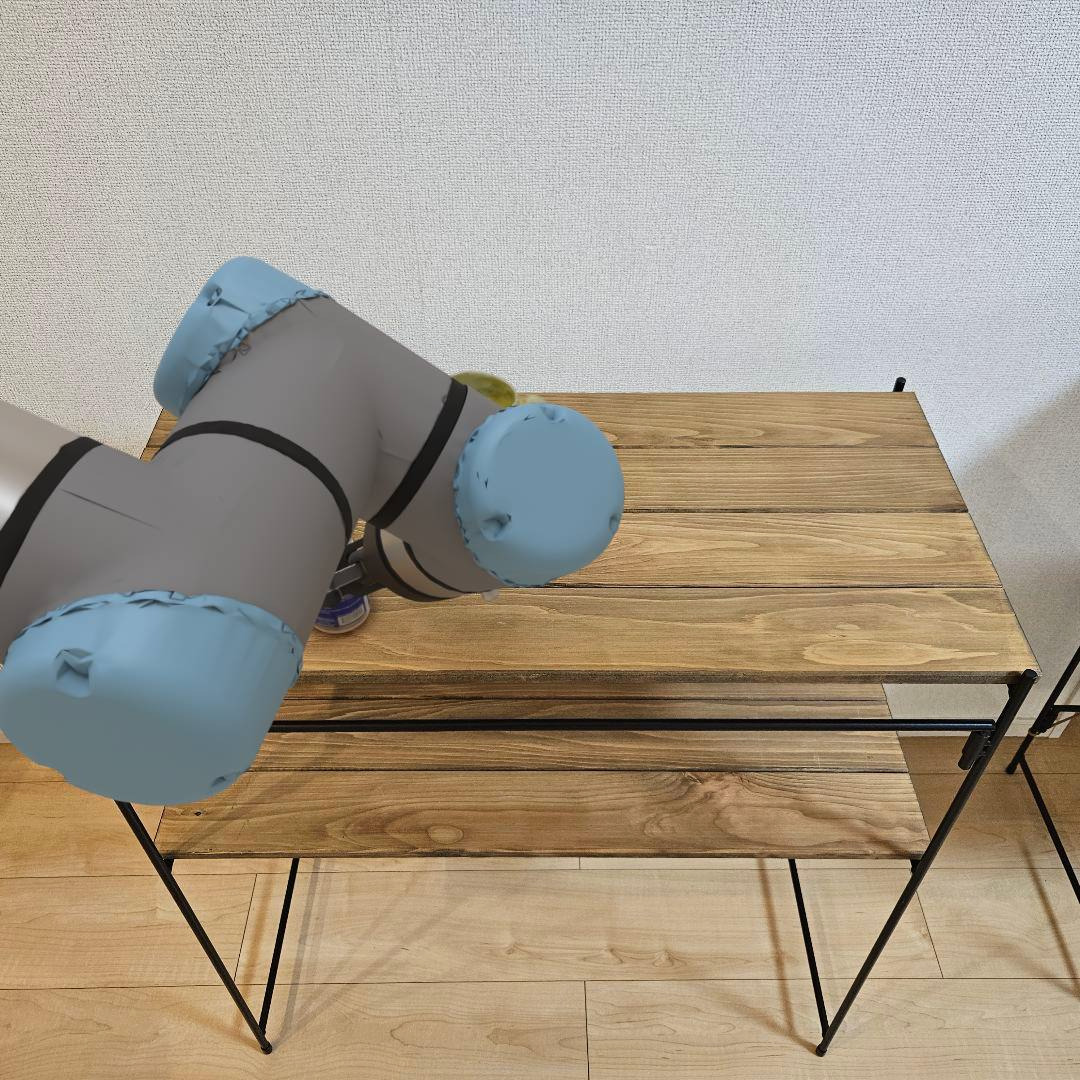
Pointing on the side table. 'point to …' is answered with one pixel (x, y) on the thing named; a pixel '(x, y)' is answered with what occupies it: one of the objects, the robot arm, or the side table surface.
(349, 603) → the pill bottle
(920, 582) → the side table surface
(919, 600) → the side table surface
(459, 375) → the mug
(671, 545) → the side table surface
